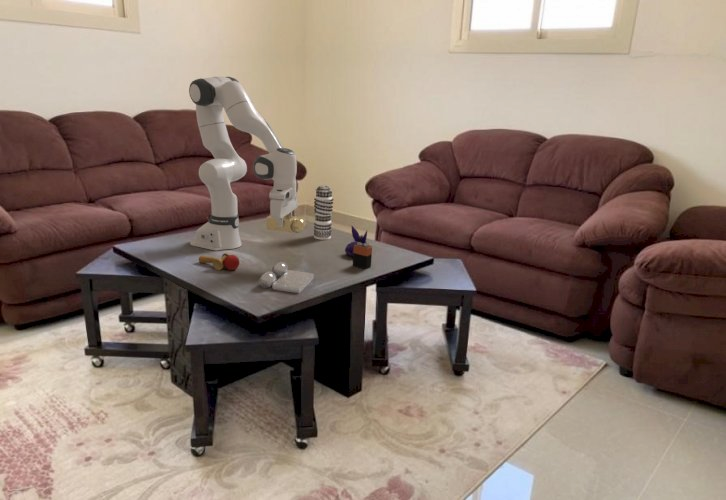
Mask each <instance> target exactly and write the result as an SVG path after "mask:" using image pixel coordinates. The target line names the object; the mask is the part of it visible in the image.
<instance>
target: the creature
mask: <svg viewBox="0 0 726 500" xmlns="http://www.w3.org/2000/svg"><path fill="white" fill-rule="evenodd" d="M351 234H352V237H353V241H351V242H349V243H348V244H346V246H345V249H344V252H345V254H346V255H348V256H351V257H353V250H354V245H356V244H358V242H361V244H368V243H367V236H368V230H366V231H365V232H364V234H362V233H361V235H360V234H359V232H358V230H357V229H356V228H355V227H354V226H353V225H351Z"/></svg>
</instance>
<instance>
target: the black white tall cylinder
mask: <svg viewBox="0 0 726 500" xmlns="http://www.w3.org/2000/svg"><path fill="white" fill-rule="evenodd" d="M315 191H316V192H315V193H316V194H315V198H314V202H313V203H314V205H313V207H314V209H313V210H314V215H315V217H314V223H313V225H314V226H313V227H314V228H313V238H314V239H316V240H321V241H322V240H331V238H332V224H333V223H332V215H333V213H332V212H333V208H334V206H333V204H334V202H333V201H334V198H333V191H334V190H333V189H332V188H331V186H327V185H318V186H317V188H315Z"/></svg>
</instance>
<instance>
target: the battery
mask: <svg viewBox="0 0 726 500" xmlns="http://www.w3.org/2000/svg"><path fill="white" fill-rule="evenodd" d="M372 254H373V245H370V243H367V244H361V242H358V244H356V245H354V250H353V256H352V266H354V267H358V268H361V269H364V270H366V269H368V268H371V266H372Z"/></svg>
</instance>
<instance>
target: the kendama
mask: <svg viewBox="0 0 726 500" xmlns="http://www.w3.org/2000/svg"><path fill="white" fill-rule="evenodd" d="M198 262H199V263H200V264H212V267H214V268H215V270H218V271H221V270H223V269H224V268H225V269H227V270H229V271H235V270H237V269H238V267H239V266H240V260H239V257H238V256H236V255H234V254H229V253H228V252H224V253H223V254H222V255H221V258H219V257H214V256H205V255H200V256H199V257H198Z"/></svg>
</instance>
